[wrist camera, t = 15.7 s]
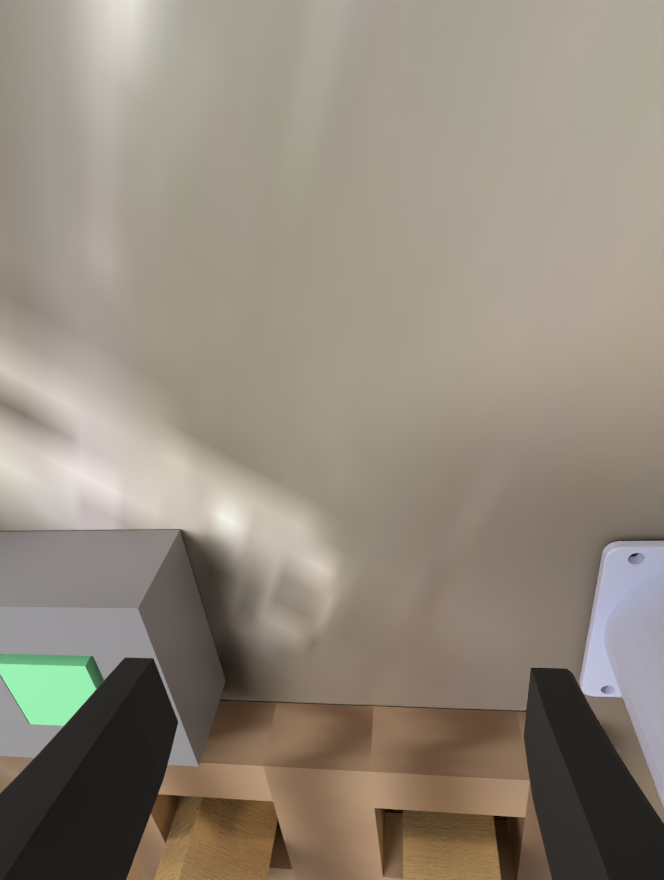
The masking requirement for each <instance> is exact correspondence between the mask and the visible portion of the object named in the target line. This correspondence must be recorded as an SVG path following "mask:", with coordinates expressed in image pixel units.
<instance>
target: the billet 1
mask: <svg viewBox="0 0 664 880" xmlns="http://www.w3.org/2000/svg"><path fill="white" fill-rule="evenodd" d="M277 820H278V817H277V814H276V810H275V807H274V803H273V801H257V800H241V799H225V798H210V797H194V796H181V798H180V801H179V804H178V807H177V810H176V813H175V816H174V819H173V822H172V826H171V829H170V832H169V835H168V838H167V841H166V844H165V847H164V850H163V853H162V856H161V860H160V863H159V866H158V869H157V872H156V875H155V878H154V880H267V877H268V871H269V866H270V860H271V854H272V849H273V843H274V837H275V832H276V826H277Z"/></svg>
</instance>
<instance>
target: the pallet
mask: <svg viewBox="0 0 664 880" xmlns="http://www.w3.org/2000/svg"><path fill="white" fill-rule="evenodd" d="M525 719H526V712H519V711H492V710H465V709H438V708H410V707H383V706H356V705H328V704H301V703H274V702H247V701H219V704H218V707H217V710H216V714H215V717H214V720H213V723H212V726H211V730H210V733H209V736H208V739H207V742H206V745H205V749H204V752H203V755H202V758H201V761H200V765H199V767H196V766H177V765H167V768H166V772H165V776H164V779H163V782H162V785H161V787H160V790H159V793H158V796H157V798H156V801H155V804H154V806H153V809H152V812H151V815H150V817H149V820H148V823H147V825H146V828H145V831H144V833H143V836H142V839H141V841H140V844H139V846H138V849H137V852H136V854H135V857H134V860H133V861H134V863H135V864H136V866H137V868H138V870H139V871H140V873H141V875H142V877H143V878H144V880H154V878H155V875H156V872H157V869H158V866H159V863H160V860H161V856H162V853H163V850H164V847H165V844H166V841H167V838H168V835H169V832H170V829H171V826H172V822H173V819H174V816H175V813H176V810H177V807H178V804H179V801H180V798H181V796H194V797H210V798H225V799H241V800H257V801H273V803H274V807H275V810H276V814H277V817H278V820H277V826H276V832H275V837H274V843H273V849H272V854H271V860H270V866H269V871H268V877H267V880H403V813H387V812H385V810H384V809H399V810H414V811H430V812H446V813H462V814H477V815H493V816H507V820H496V819H494V826H495V834H496V842H497V850H498V858H499V866H500V874H501V880H552V877H551V873H550V869H549V865H548V861H547V857H546V853H545V848H544V844H543V840H542V836H541V832H540V828H539V824H538V819H537V815H536V811H535V807H534V803H533V798H532V791H531V785H530V778H529V772H528V765H527V758H526V751H525V743H524V728H525Z"/></svg>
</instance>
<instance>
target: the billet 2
mask: <svg viewBox="0 0 664 880" xmlns="http://www.w3.org/2000/svg"><path fill="white" fill-rule="evenodd" d="M403 880H501V874H500V866H499V858H498V850H497V842H496V834H495V826H494V818H493V815H477V814H462V813H446V812H430V811H414V810H403Z"/></svg>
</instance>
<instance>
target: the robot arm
mask: <svg viewBox="0 0 664 880" xmlns="http://www.w3.org/2000/svg"><path fill="white" fill-rule="evenodd" d="M635 553H639V554H638V555H636V556H633V557H629V556H630V555H632V554H635ZM579 682H580V687H581V689H580V687H579V685H578V683H577V681H576V679H575V677H574V675H573V673H571V672H570V671H569V670H568V669H556V668H531V674H530V683H529V692H528V701H527V710H526V719H525V728H524V743H525V751H526V758H527V765H528V772H529V778H530V785H531V791H532V798H533V803H534V807H535V811H536V815H537V819H538V824H539V828H540V832H541V836H542V840H543V844H544V848H545V853H546V857H547V861H548V865H549V869H550V873H551V877H552V880H664V823H663V822H662V821H661V819H660V818H659V816H658V815H657V813H656V812H655V810H654V809H653V807H652V806H651V804H650V803H649V801H648V800H647V798H646V797H645V795H644V793H643V792H642V790H641V789H640V787H639V786H638V784H637V783H636V781H635V780H634V778H633V777H632V775H631V774H630V772H629V771H628V769H627V767H626V766H625V764H624V763H623V761H622V760H621V758H620V756H619V755H618V753H617V752H616V750H615V748H614V747H613V745H612V743H611V742H610V740H609V738H608V737H607V735H606V733H605V732H604V730H603V728H602V727H601V725H600V723H599V721H598V720H597V718H596V716H595V714H594V713H593V711H592V709H591V707H590V706H589V704H588V702H587V700H586V698H585V696H584V695H583V693H584V694H586V695H588V696H598V697H623V700H624V703H625V705H626V708H627V711H628V714H629V716H630V719H631V722H632V724H633V727H634V730H635V732H636V735H637V738H638V740H639V743H640V746H641V749H642V751H643V754H644V757H645V759H646V762H647V765H648V767H649V770H650V773H651V775H652V778H653V781H654V784H655V786H656V789H657V792H658V794H659V797H660V800H661V802H662V805H663V808H664V541H617V542H612V543H610V544H608V545H607V546H606V547H605V548H604V550H603V552H602V557H601V563H600V569H599V574H598V580H597V585H596V591H595V597H594V602H593V608H592V614H591V619H590V625H589V630H588V636H587V642H586V647H585V653H584V658H583V664H582V670H581V675H580V681H579ZM581 690H582V691H581ZM582 692H583V693H582ZM177 725H178V720H177V717H176V715H175V712H174V710H173V707H172V704H171V702H170V699H169V697H168V694H167V692H166V689H165V687H164V684H163V681H162V679H161V676H160V674H159V671H158V669H157V666H156V663H155V661H154V658H124V659H123V660H122V661H121V662H120V663H119V664H118V665H117V667H116V668H115V669H114V670H113V671H112V672H111V673H110V674H109V675H108V677H107V678H106V679H105V680H104V681H103V682H102V683H101V685H100V686H99V687H98V688H97V689H96V690H95V691H94V692H93V694H92V695H91V696H90V697H89V698H88V699H87V700H86V702H85V703H84V704H83V705H82V706H81V707H80V708H79V709H78V711H77V712H76V713H75V714H74V715H73V716H72V717H71V718H70V720H69V721H68V722H67V723H66V724H65V725H64V726H63V727H62V729H61V730H60V731H59V732H58V733H57V734H56V735H55V736H54V737H53V738H52V739H51V741H50V742H49V743H48V744H47V745H46V746H45V747H44V748H43V749H42V750H41V751H40V753H39V754H38V755H37V756H36V757H35V758H34V759H33V760H32V761H31V762H30V763H29V765H28V766H27V767H26V768H25V769H24V770H23V771H22V772H21V773H20V774H19V775H18V776H17V777H16V778H15V779H14V780H13V781H12V782H11V783H10V784H9V785H8V786H7V787H6V788H5V789H4V790H3V791H2V792H1V793H0V880H126V878H127V875H128V873H129V870H130V868H131V865H132V862H133V860H134V857H135V854H136V852H137V849H138V846H139V844H140V841H141V839H142V836H143V833H144V831H145V828H146V825H147V823H148V820H149V817H150V815H151V812H152V809H153V806H154V804H155V801H156V798H157V796H158V793H159V790H160V787H161V785H162V782H163V779H164V776H165V772H166V768H167V765H168V761H169V757H170V754H171V750H172V746H173V741H174V737H175V733H176V729H177Z"/></svg>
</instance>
